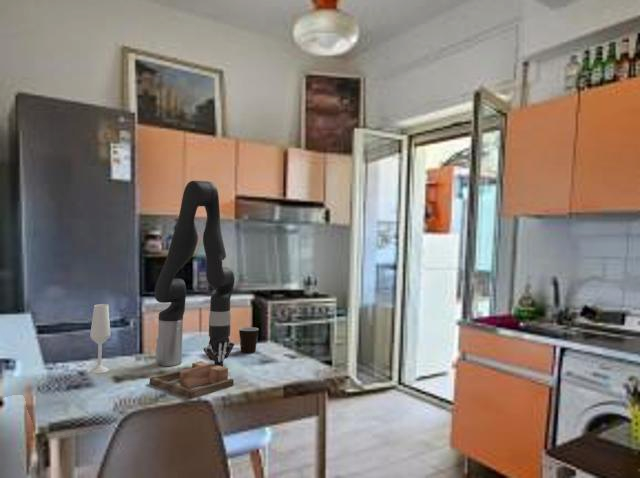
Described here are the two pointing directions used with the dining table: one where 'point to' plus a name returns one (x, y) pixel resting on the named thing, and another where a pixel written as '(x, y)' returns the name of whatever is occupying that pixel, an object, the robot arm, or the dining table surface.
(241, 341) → the coffee mug
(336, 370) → the dining table surface
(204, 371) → the t block
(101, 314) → the champagne flute
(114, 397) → the dining table surface
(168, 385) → the frame
